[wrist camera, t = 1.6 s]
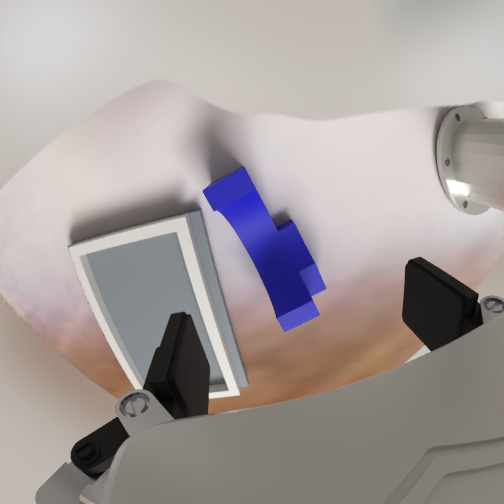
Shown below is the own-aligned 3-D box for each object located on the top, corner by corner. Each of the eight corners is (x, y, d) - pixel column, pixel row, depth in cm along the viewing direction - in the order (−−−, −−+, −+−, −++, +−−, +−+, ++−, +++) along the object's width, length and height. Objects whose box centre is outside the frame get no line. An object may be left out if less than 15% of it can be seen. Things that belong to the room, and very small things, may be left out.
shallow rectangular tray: (201, 208, 23) (197, 213, 21) (248, 380, 29) (248, 393, 27) (72, 243, 23) (60, 250, 21) (141, 390, 30) (137, 402, 28)
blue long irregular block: (317, 274, 26) (337, 306, 20) (275, 295, 26) (284, 332, 20) (259, 157, 22) (266, 156, 16) (211, 183, 22) (202, 191, 17)
